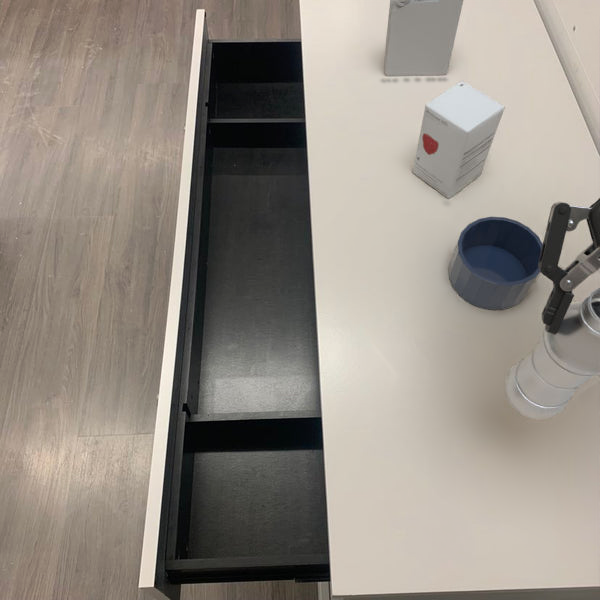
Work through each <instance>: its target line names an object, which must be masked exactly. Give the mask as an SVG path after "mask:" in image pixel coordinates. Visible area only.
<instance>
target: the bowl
mask: <svg viewBox="0 0 600 600" xmlns="http://www.w3.org/2000/svg"><path fill="white" fill-rule="evenodd" d="M542 245H543V242H542V240H541V238H540V236H539V235H538V234H537V233H536V232H535V231H533V230H532V229H531V227H529V226H527V225H525V224H524V223H522V222H521V221H518V220H515V219H511V218H509V217H503V216H487V217H481V218H478V219H476V220H475V221H473V222H470V223H468V224H467V225H466V226H465V227H464V229H463V230H462V231H461V232H460V235H459V237H458V240H457V243H456V245H455V249H454V251H453V254H452V257H451V260H450V262H449V267H448V278H449V282H450V284H451V286H452V288H453V290H454V292H456V294H457V295H458V296H459V297H460V298H461V299H463V300H464V301H465V302H467V303H469V305H472V306H474V307H477V308H480V309H483V310H489V311H502V310H507V309H509V308H510V309H511V308H513V307H515V306H517V305H519V304H520V303H521V302H522V301H523V300H525V298H526V297H527V295H528V294H529V292H530V291H531V289H532V287H533V286H534V285H535V283H536V281H537V279H538V278H539V276H540V275H541V274H542V273H541V271H540V270H539V268H538V263H539V258H540V254H541V250H542Z"/></svg>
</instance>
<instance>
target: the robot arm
mask: <svg viewBox="0 0 600 600" xmlns="http://www.w3.org/2000/svg"><path fill="white" fill-rule="evenodd" d="M548 215H549V216H548V221H547V224H546V228H545V233H544V237H543V242H542V244H543V245H542V250H541V254H540V258H539V263H538V268H539V270H540V271H541V273H540V274H542V275H543V276H544V277H546V278H547V279H549V280H550V281H551V282H552V283H553V284H552V285H553V286H552V290H551V292H550V294H549V296H548V299H547V300H546V304H545V306H544V307H543V310H542V312H541V321H542V323H543V324H544V325H545V326H544V330H545V329H546V332H548V333H551V334H554V335H556V334H557V332H558V330H559V328H560V326H561V323H562V321H563V319H564V317H565V315H566V312H567V310H568V308H569V306H570V304H572V301H573V300H574V298H575V294H574V292H573V291H574V290H575V289H576V288H577V287H579V285H580V284H581V283H583V282H584V281H585V280H587V278H588V277H590V276H591V275H593V274H595V273H597V272H598V271H599V270H600V197H598V199H597V200H596V201H595V202H594V203H592V204H591V205H590V206H589V207H588V206H579V205H572V204H569V203H567V202H563V201H557V202H554V203H553V204H552V205H551V207H550V212H549V214H548ZM584 220H586V224H587V227H588V230H589V234H590V237H591V242H592V243H590V244H589V245H588V246H587V247H585V249H584V250H582V251H581V252H580V253H579V254H578V255H577V256H576V257H575V259H574V260H573V261H572V262H571V263H570V264H569V265H567V266H566V267H565V268H562V267H561V266H560V265H559V263H560V259H561V254H562V251H563V246H564V243H565V238H566V234H567V232H572V231H575V230H576V229H577V227H578V225H579V223H580V222H582V221H584Z"/></svg>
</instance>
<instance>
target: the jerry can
mask: <svg viewBox="0 0 600 600" xmlns="http://www.w3.org/2000/svg"><path fill="white" fill-rule="evenodd" d="M463 4H464V0H389V8H388V18H387V26H386V27H387V28H386V38H385V39H386V40H385V47H384V57H383V64H384V74H385V76H387V77H406V76H407V77H414V76H415V77H418V76H421V77H423V76H446V75H447V74H448V72H449V68H450V63H451V59H452V55H453V49H454V45H455V40H456V36H457V32H458V27H459V22H460V18H461V13H462V9H463Z"/></svg>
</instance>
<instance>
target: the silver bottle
mask: <svg viewBox="0 0 600 600" xmlns="http://www.w3.org/2000/svg"><path fill="white" fill-rule="evenodd" d="M598 375H600V287H599V288H597V289H595V290H594V291H592V292H591V294H589V296H588V297H586V298H585V299H584V300H583V301H582V302H574V303H571V304H570V306H569V308H568V310H567V312H566V315H565V317H564V319H563V321H562V323H561V326H560V328H559V330H558V332H557V334H556V335H554V334H551V333H548V332H546V329H545V328H544V330H543V332H542V335H541V337H540V340H538V342H537V344H536V345H535V347H534V349H533V351H531V352H530V353H529V354H528V355H526V356H525V357H523V358H522V359H521V360H519V361H518V362H517V363H515V364H514V365H513V366H512V367H511V368H510V369H509V372H508V374H507V377H506V381H505V383H504V391H505V396H506V399H507V401H508V403H509V405H510V406H511V407H512V409H514V410H515V411H516V412H517V413H518V414H520V415H521V416H523V417H525V418H527V419H530V420H531V419H532V420H536V421H538V420H541V421H542V420H547V419H550V418H553V417H555V416H557V415H559V414H560V413H562V412H563V411H564V410H565V408H566V407H567V405H569V403H570V400H571V398H572V396H573V394H575V392H576V391H577V389H579V387H580V386H582V385H583V384H584V383H586V382H587V381H589V380H591V379H593V378H595V377H597V376H598Z"/></svg>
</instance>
